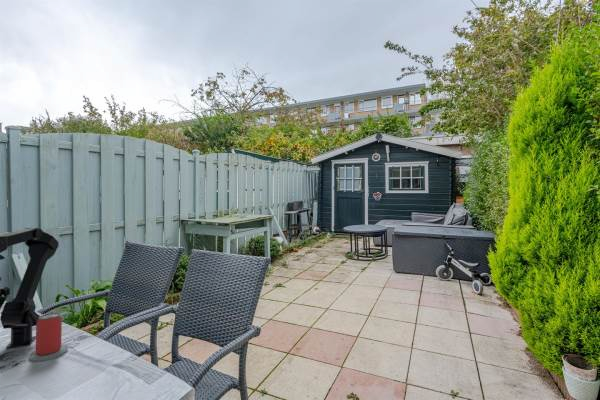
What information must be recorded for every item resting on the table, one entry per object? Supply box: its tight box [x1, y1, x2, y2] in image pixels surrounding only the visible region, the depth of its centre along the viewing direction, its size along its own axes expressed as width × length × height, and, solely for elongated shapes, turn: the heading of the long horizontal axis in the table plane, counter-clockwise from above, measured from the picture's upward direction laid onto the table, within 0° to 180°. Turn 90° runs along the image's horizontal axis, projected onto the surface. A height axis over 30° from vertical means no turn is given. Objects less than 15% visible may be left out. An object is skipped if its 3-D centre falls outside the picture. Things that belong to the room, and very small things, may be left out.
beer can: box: [35, 312, 63, 356], centre depth 99 cm, size 7×7×12 cm
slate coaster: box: [28, 344, 69, 363], centre depth 99 cm, size 10×10×1 cm
